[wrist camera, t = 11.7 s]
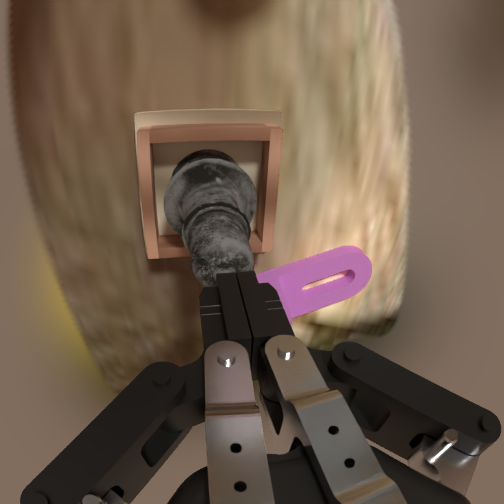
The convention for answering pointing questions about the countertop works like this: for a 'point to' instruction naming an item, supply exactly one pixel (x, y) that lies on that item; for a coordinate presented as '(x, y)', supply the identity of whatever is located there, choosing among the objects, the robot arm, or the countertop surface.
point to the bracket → (314, 268)
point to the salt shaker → (212, 213)
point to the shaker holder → (206, 138)
